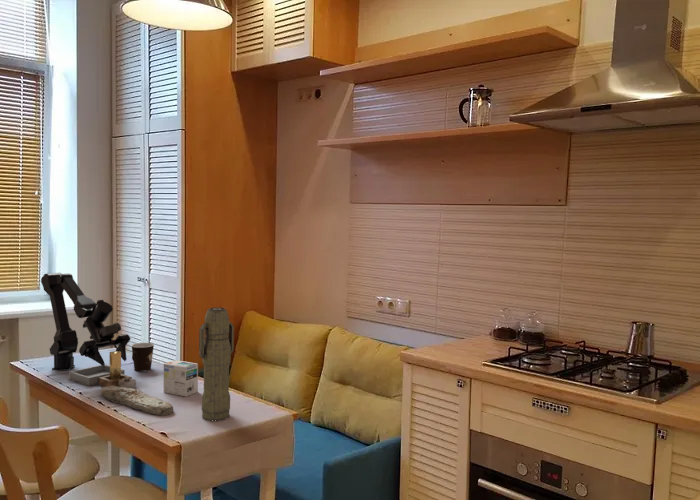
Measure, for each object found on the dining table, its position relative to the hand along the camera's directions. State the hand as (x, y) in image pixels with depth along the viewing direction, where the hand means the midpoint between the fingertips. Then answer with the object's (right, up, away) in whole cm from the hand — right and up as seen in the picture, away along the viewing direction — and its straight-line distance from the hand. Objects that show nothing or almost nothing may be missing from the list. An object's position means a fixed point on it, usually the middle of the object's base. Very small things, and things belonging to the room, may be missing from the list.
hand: (114, 362), depth 231 cm
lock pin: (0, -8, 0) cm, 8 cm away
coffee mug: (+2, -7, +21) cm, 22 cm away
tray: (-10, -7, +7) cm, 14 cm away
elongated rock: (+15, -11, -21) cm, 28 cm away
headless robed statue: (+45, -12, -32) cm, 56 cm away
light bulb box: (+27, -10, -7) cm, 29 cm away
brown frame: (+2, -8, -1) cm, 9 cm away
